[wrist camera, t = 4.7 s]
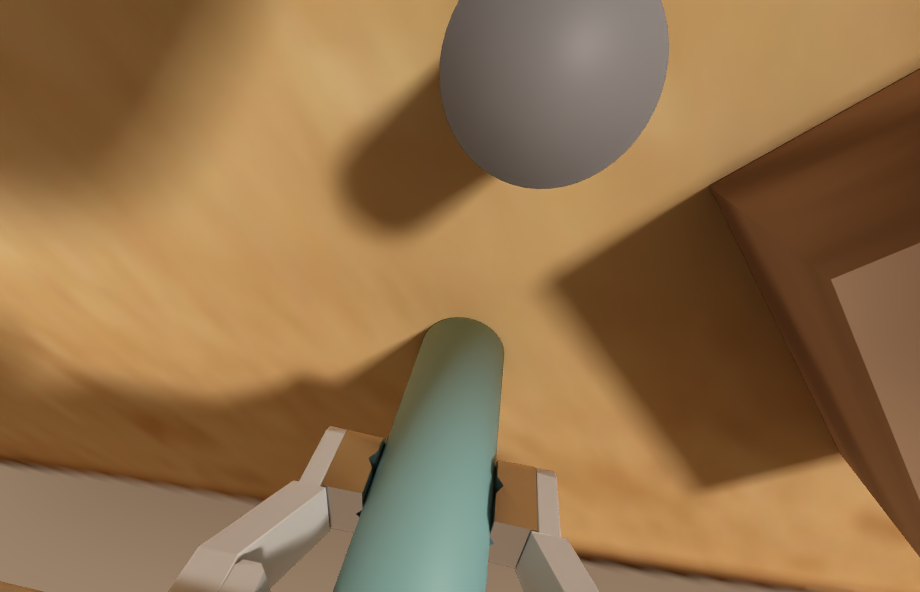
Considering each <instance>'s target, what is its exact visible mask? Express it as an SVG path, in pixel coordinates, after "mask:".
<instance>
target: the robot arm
mask: <svg viewBox="0 0 920 592" xmlns="http://www.w3.org/2000/svg"><path fill="white" fill-rule="evenodd" d="M384 448H385V438H384V437H379V436H375V435H370V434H366V433H361V432H356V431H352V430H348V429H343V428H338V427H334V426H329V427H328V429H327V430H326V431H325V432H324V434H323V436H322V438H321V440H320V442H319V444H318V446H317V447H316V449H315V451H314V453H313V455H312V457H311V459H310V461H309V463H308V464H307V466H306V468H305V470H304V472H303V474H302V476H301V478H300V480H299V481H294V480H293V481H291V482H290V483H288V484H287V485H286V486H284V487H283V488H281V489H280V490H278V491H277V492H276V493H274V494H273V495H271V496H270V497H268V498H267V499H266V500H264V501H263V502H261V503H260V504H258V505H257V506H256V507H254V508H253V509H251V510H250V511H248V512H247V513H246V514H244V515H243V516H241V517H240V518H239V519H237V520H236V521H234V522H233V523H231V524H230V525H229V526H227V527H226V528H224V529H223V530H221V531H220V532H219V533H217V534H216V535H214V536H213V537H212V538H210V539H208V540H207V541H206V542H204V543H203V544H201V545H200V546H199V547H198V548H197V549H196V551H195V552H194V554H193V555H192V557H191V558H190V560H189V561H188V563H187V565H186V566H185V567H184V569H183V570H182V572H181V573H180V575H179V576H178V578H177V579H176V581H175V582H174V584H173V585H172V587H171V588H170V590H169V591H168V592H271V591H270V588H271V587H272V586H273V585H274V584H275V583H276V582H277V581H278V580H279V579H281V578H282V577H283V576H284V575H285V574H286V573H287V572H288V571H289V570H290V569H291V568H292V567H293V566H294V565H295V564H296V563H297V562H298V561H299V560H300V559H301V558H302V557H303V556H304V555H305V554H306V553H307V552H308V551H309V550H310V549H311V548H313V547H314V545H316V544H317V543H318V542H319V541H320V540H321V539H322V538H323V537H324V536H325V535H326V534H327V533H328V532H329V531H330V528H331V529H337V530H342V531H347V532H353V533H354V531H355V529H356V526H357V523H358V520H359V517H360V515H361V512H362V509H363V506H364V503H365V501H366V498H367V495H368V492H369V489H370V487H371V484H372V481H373V478H374V475H375V473H376V470H377V467H378V464H379V462H380V459H381V456H382V453H383V450H384ZM488 562H491V563H495V564H498V565H502V566H506V567H511V568H515V569H516V570H515V572H516V574H517V576H518V579H519V581H520V583H521V586H522V588H523V591H524V592H599V590H598V588H597V587H596V585H595V584H594V582H593V580H592V579H591V577H590V575H589V574H588V572H587V570H586V569H585V567H584V566H583V564H582V562H581V561H580V559H579V557H578V556H577V554H576V552H575V551H574V549H573V548H572V546H571V544H570V543H569V541H568V539H567V538H563V537H561V531H560V517H559V503H558V489H557V476H556V474H555V472H554V471H550V470H544V469H539V468H535V467H532V466H527V465H521V464H516V463H511V462H505V461H500V460H498V461H497V462H496V466H495V474H494V487H493V504H492V512H491V526H490V543H489V556H488ZM0 592H43V591H38V590H34V589H30V588H26V587H22V586H18V585H13V584H9V583H5V582H1V581H0Z"/></svg>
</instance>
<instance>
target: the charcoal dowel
mask: <svg viewBox="0 0 920 592" xmlns="http://www.w3.org/2000/svg"><path fill="white" fill-rule="evenodd" d="M668 54H669V38H668V26H667V21H666V17H665V12H664V8H663V5H662V2H661V0H459V2H458V4H457V6H456V8H455V9H454V11H453V13H452V16H451V19H450V21H449V24H448V26H447V29H446V33H445V37H444V40H443V44H442V50H441V57H440V71H439V81H440V93H441V99H442V104H443V108H444V112H445V115H446V118H447V121H448V124H449V126H450V128H451V130H452V132H453V134H454V136H455V138H456V140H457V141H458V143H459V144H460V146H461V147H462V149H463V150H464V151H465V152H466V154H467V155H468V156H469V157H470V158H471V159H472V160H473V161H474V162H475V163H476V164H477V165H478V166H479V167H480V168H482V169H483V170H485V171H486V172H487V173H489V174H490V175H492V176H494V177H496V178H498V179H500V180H502V181H504V182H507V183H509V184H512V185H516V186H520V187H525V188H534V189H551V188H557V187H564V186H567V185H571V184H574V183H578V182H580V181H582V180H585V179H587V178H590V177H591V176H593V175H595V174H597V173H599V172H600V171H602V170H604V169H605V168H606V167H608V166H609V165H610V164H612V163H613V162H615V161H616V160H617V159H618V158H619V157H620V156H621V155H622V154H623V153H625V152H626V151H627V149H628V148H629V147H630V146H631V145H632V144H633V143H634V142H635V140H636V139H637V138H638V136H639V135H640V134H641V132H642V131H643V129H644V128H645V126H646V125H647V123H648V121H649V119H650V117H651V116H652V114H653V112H654V110H655V107H656V105H657V103H658V100H659V98H660V95H661V92H662V88H663V85H664V82H665V77H666V71H667V66H668Z"/></svg>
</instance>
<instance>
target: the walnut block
mask: <svg viewBox="0 0 920 592" xmlns="http://www.w3.org/2000/svg"><path fill="white" fill-rule="evenodd" d="M710 189H711V191H712V193H713V195H714V197H715V199H716V201H717V203H718V205H719V207H720V209H721V211H722V213H723V215H724V217H725V219H726V221H727V223H728V225H729V227H730V229H731V231H732V233H733V235H734V238H735V240H736V242H737V244H738V246H739V248H740V250H741V252H742V254H743V256H744V258H745V260H746V262H747V264H748V266H749V268H750V270H751V272H752V274H753V276H754V278H755V280H756V282H757V284H758V287H759V289H760V291H761V293H762V295H763V297H764V299H765V301H766V303H767V305H768V307H769V309H770V311H771V313H772V315H773V317H774V319H775V321H776V323H777V325H778V327H779V329H780V331H781V333H782V336H783V338H784V340H785V342H786V344H787V346H788V348H789V350H790V352H791V354H792V356H793V358H794V360H795V362H796V364H797V366H798V368H799V370H800V372H801V374H802V376H803V378H804V380H805V382H806V385H807V387H808V389H809V391H810V393H811V395H812V397H813V399H814V401H815V403H816V405H817V407H818V409H819V411H820V413H821V415H822V417H823V419H824V421H825V423H826V425H827V427H828V429H829V431H830V433H831V436H832V438H833V440H834V442H835V444H836V446H837V448H838V450H839V452H840V454H841V455H842V456H843V458H844V459H845V460H846V462H847V463H848V464H849V466H850V467H851V468H852V470H853V471H854V472H855V473H856V475H857V476H858V477H859V479H860V480H861V481H862V483H863V484H864V485H865V486H866V488H867V489H868V490H869V492H870V493H871V494H872V496H873V497H874V498H875V499H876V501H877V502H878V503H879V505H880V506H881V507H882V509H883V510H884V511H885V512H886V514H887V515H888V516H889V518H890V519H891V520H892V522H893V523H894V524H895V525H896V527H897V528H898V529H899V531H900V532H901V533H902V535H903V536H904V537H905V539H906V540H907V541H908V542H909V544H910V545H911V546H912V548H913V549H914V550H915V552H916V553H917V554H918V555H919V557H920V69H919V70H917V71H916V72H914V73H912V74H910V75H908V76H907V77H905V78H903V79H901V80H899V81H898V82H896V83H894V84H892V85H890V86H889V87H887V88H885V89H883V90H881V91H880V92H878V93H876V94H874V95H872V96H871V97H869V98H867V99H865V100H863V101H862V102H860V103H858V104H856V105H854V106H853V107H851V108H849V109H847V110H845V111H844V112H842V113H840V114H838V115H836V116H835V117H833V118H831V119H829V120H827V121H826V122H824V123H822V124H820V125H818V126H817V127H815V128H813V129H811V130H809V131H808V132H806V133H804V134H802V135H800V136H799V137H797V138H795V139H793V140H791V141H790V142H788V143H786V144H784V145H782V146H781V147H779V148H777V149H775V150H773V151H772V152H770V153H768V154H766V155H764V156H763V157H761V158H759V159H757V160H755V161H754V162H752V163H750V164H748V165H746V166H745V167H743V168H741V169H739V170H737V171H736V172H734V173H732V174H730V175H728V176H727V177H725V178H723V179H721V180H719V181H718V182H716V183H714V184H712V185H710Z"/></svg>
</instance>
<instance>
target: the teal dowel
mask: <svg viewBox="0 0 920 592" xmlns="http://www.w3.org/2000/svg"><path fill="white" fill-rule="evenodd" d="M503 362H504V348H503V345H502V342H501V340H500V338H499V337H498V335H497V334H496V333H495V332H494V331H493V330H492V329H491V328H489V327H488V326H486V325H485V324H483V323H481V322H479V321H476V320H473V319H469V318H460V317H456V318H449V319H445V320H442V321H440V322H437V323H436V324H434V325H433V326H432V327H431V328H430V329H429V330H428V331H427V332H426V334H425V336H424V339H423V341H422V344H421V347H420V350H419V353H418V355H417V358H416V361H415V364H414V367H413V369H412V372H411V375H410V378H409V380H408V383H407V386H406V389H405V392H404V394H403V397H402V400H401V403H400V406H399V408H398V411H397V414H396V417H395V420H394V422H393V425H392V428H391V431H390V434H389V436H388V439H387V442H386V445H385V448H384V450H383V453H382V456H381V459H380V462H379V464H378V467H377V470H376V473H375V475H374V478H373V481H372V484H371V487H370V489H369V492H368V495H367V498H366V501H365V503H364V506H363V509H362V512H361V515H360V517H359V520H358V523H357V526H356V529H355V531H354V534H353V537H352V540H351V543H350V545H349V548H348V551H347V554H346V557H345V559H344V562H343V565H342V568H341V570H340V573H339V576H338V579H337V582H336V585H335V587H334V590H333V592H486V582H487V568H488V556H489V543H490V526H491V512H492V504H493V487H494V474H495V466H496V453H497V440H498V427H499V414H500V401H501V388H502V375H503Z"/></svg>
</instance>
